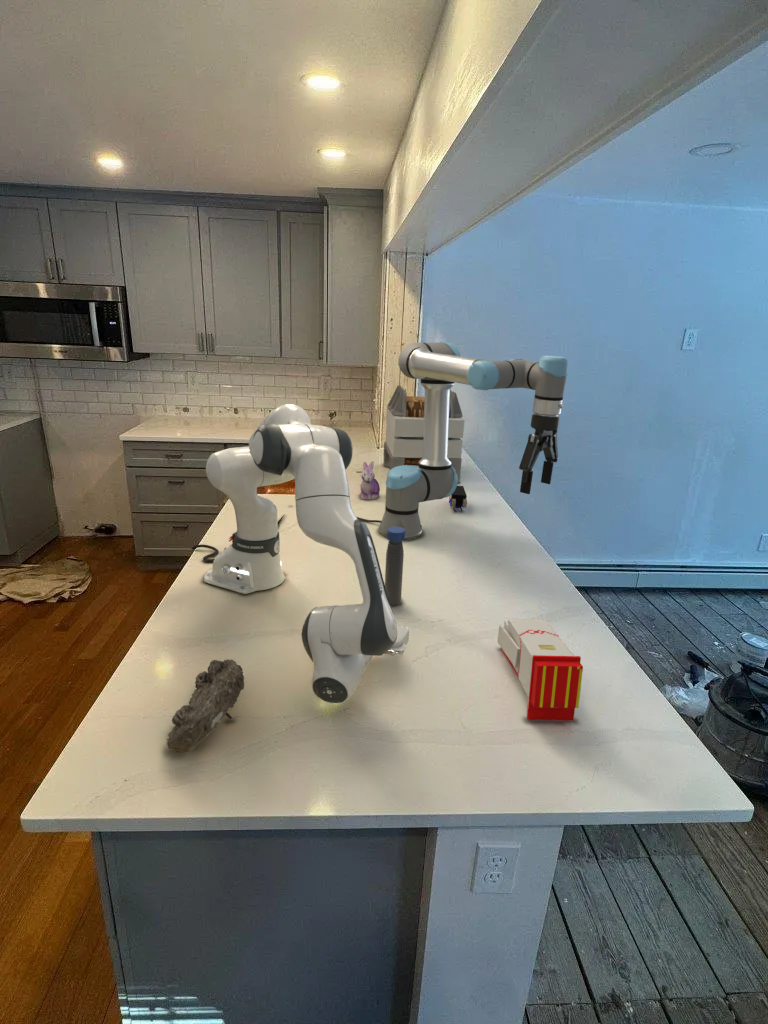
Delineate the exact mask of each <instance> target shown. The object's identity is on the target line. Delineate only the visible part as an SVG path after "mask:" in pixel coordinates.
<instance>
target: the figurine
mask: <svg viewBox="0 0 768 1024" xmlns="http://www.w3.org/2000/svg"><path fill="white" fill-rule="evenodd" d="M374 465H375V462H374V461H373V460H372V461H371V462H370V463H369V464H367V462H366V461H363V463H362V467H363V471H362V472H361V475H360V477H361V480H362V481H361V484H360V494H359V496H360V498H361V499H362V500H374V499H377V498H379V496H380V491H381V487H380V484H379V482H378V480H377V479H376V478H375V477H376V475H375V473H374V470H373V469H374Z"/></svg>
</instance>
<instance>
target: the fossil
mask: <svg viewBox="0 0 768 1024" xmlns="http://www.w3.org/2000/svg"><path fill="white" fill-rule="evenodd" d="M243 670H244V669H243V667H242V665H240V664H237V662H236V661H235V660H234V659H232V658H231V659H227V658H226V659H224V660H223V661H222V660H217V659H212V660H211V661H210V663H209V665H208V666H207V671H201V672H199V673H198V674H197V675H196V676H195V680H194V684H195V685H194V687H195V689H194V690H193V693H192V694H191V697H190V698H189V700H188V704H184V705H182V706H181V707H180V709H177V710H176V711H175V713H174V715H173V716H172V718H171V723H172V724H173V727H172V730H171V731H170V732H168V734H167V738H166V741H167V742H166V745H167V749H168V750H169V751H173V752H174V753H176V754H178V753H182V752H188V751H189V752H192V751H193V750H195V748H196V747H197V746H199V744H200V743H201V742H203V741H204V740H205V739H206V738H207V737H208V736H209V735H210V734H211V733H212V732H214V730H215V729H217V727H218V726H219V724H220V722H221V721H222V720H223V719H224V718H225V716H226V717H227V719H229V720H233V717H232V715H230V714H229V710H230V709H231V708H234V706H235V704H236V703H237V702H238V699H239V697H240V695H241V693H242V691H243V690H245V689H244V688H245V675H244V671H243Z"/></svg>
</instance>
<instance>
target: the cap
mask: <svg viewBox="0 0 768 1024" xmlns="http://www.w3.org/2000/svg"><path fill="white" fill-rule="evenodd" d="M386 539H387V541H389V540H390V541H393V542H401V541H402V542H403V541H405V540H404V539H405V529H404V528H402V527H389V528H388V530H387V537H386Z"/></svg>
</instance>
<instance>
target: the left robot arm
mask: <svg viewBox="0 0 768 1024" xmlns="http://www.w3.org/2000/svg"><path fill="white" fill-rule="evenodd" d="M352 459H353V443H352V439H351V437H350V436H349V434H348V433H347V432H346V431H345V430H343V429H340V428H338V427H335V426H332V425H327V424H323V425H319V424H312V421H311V418H310V416H309V414H308V413H307V411H306V410H305V409H304V408H302V407H301V406H299V405H297V404H293V403H285V404H281V405H279V406H278V407H276V408H274V409H273V410H272V411H270V412H269V413H268V414H267V415H266V416H265V417H264V418H263V419H262V421H261V422H260V423H259V425H258V426H257V427H256V428H255V430H254V431H253V433H251V436H250V438H249V441H248V445H247V446H239V447H229V448H226V449H222V450H218V451H217V452H213V453H211V454H210V455H209V457H208V458H207V461H206V464H205V474H206V478H207V480H208V482H209V483H210V484H211V486H213V487H214V488H215V489H216V490H218V491H220V492H221V493H223V494H224V495H225V496H226V497H227V498H228V499H229V501H230V502H231V504H232V506H233V509H234V513H235V521H236V531H235V532H233V533H232V534H231V536H229V537H228V542H232V543H231V544H230V545H228V546H227V547H224V548H223V550H221V551H220V552H219V549H218V548H217V547H214V546H212V545H209V544H196V545H194V546H192V548H191V550H192V551H193V550H196V549H199V548H204V549H209V550H212V551H214V552H212V553H209V554H206V555H204V556H203V557H202V561H204V563H205V562H206V563H212V566H211V568H209V569H208V571H207V572H206V573H205V574H204V577H203V582H204V583H205V584H206V583H207V584H210V585H212V586H215V587H219V588H223V589H226V590H230V591H233V592H236V593H239V594H243V595H248V594H250V593H254V592H258V591H259V592H260V591H264V590H265V591H266V590H269V589H273V588H276V587H278V586H280V585H281V584H282V583H283V582H284V581H285V574H284V571H283V567H282V565H283V564H282V563H283V562H282V561H281V557H280V549H281V540H280V539H281V538H280V532H279V526H278V509H277V505H276V504H275V503H274V502H273V501H272V500H270V499H269V498H267V497H264V496H260V495H258V488H260V487H268V486H274V485H281V484H284V483H287V482H289V481H293V480H294V500H295V501H294V502H295V514H296V520H297V524H298V528H299V529H300V531H301V532H302V533H303V534H304V535H305V536H306V537H307V538H308V539H310V540H312V541H314V542H316V543H318V544H321V545H324V546H326V547H327V546H328V547H331V548H334V549H337V550H340V551H342V552H344V553H345V554H347V555H348V556H349V557H350V559H351V560H352V562H353V564H354V567H355V572H356V575H357V581H358V584H359V588H360V593H361V596H362V603H353V604H333V605H321V606H315V607H313V608H312V609H311V610H310V611H309V613H308V615H306V617H305V620H304V622H303V624H302V627H301V640H302V646H303V648H304V650H305V652H306V654H307V656H308V657H309V659H310V661H311V662H312V664H313V666H312V667H313V671H312V678H311V689H312V692H313V693H314V695H315V696H316V697H317V698H318V699H320V700H321V701H324V702H326V703H329V704H341V703H344V702H346V701H348V700H349V699H350V698H351V697H352V696H353V694H354V693H355V691H356V690H357V689H358V687H359V685H360V683H361V682H362V681H363V680H362V679H363V678H364V675H365V670H367V669H368V667H369V666H370V664H371V662H372V660H373V657H375V656H376V657H382V656H383V655H388V656H398V655H403V654H404V652H405V650H406V646H407V645H408V642H409V639H410V629H409V628H408V626H406V625H400V624H397V620H396V616H395V613H394V610H393V608H392V605H390V602H389V599H388V596H387V592H386V588H385V580H384V578H383V577H384V576H383V573H382V569H381V566H380V561H379V557H378V553H377V550H376V547H375V543H374V540H373V539H374V538H373V536H372V534H371V531H370V528H369V527H368V525H367V524H366V522H365V521H362V520H358V519H357V517H358V516H356V514H355V511H354V510H353V507H352V503H351V495H350V487H349V479H348V474H347V469H348V467H350V464H351V462H352ZM214 556H215V557H214ZM212 557H214V558H212Z"/></svg>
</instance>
